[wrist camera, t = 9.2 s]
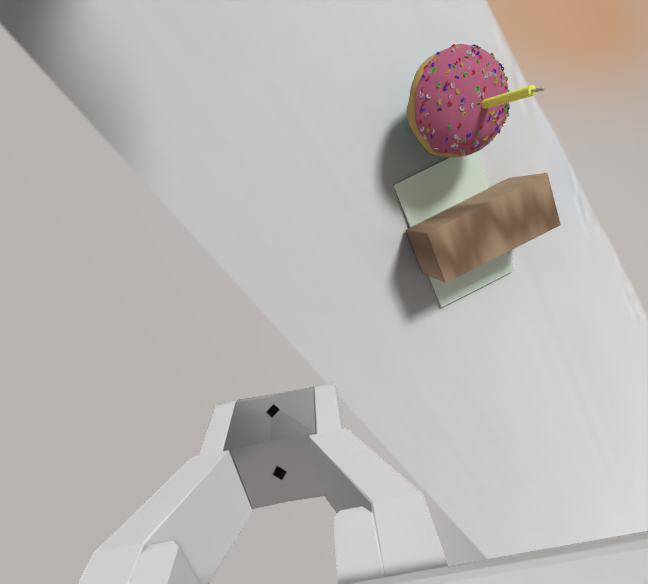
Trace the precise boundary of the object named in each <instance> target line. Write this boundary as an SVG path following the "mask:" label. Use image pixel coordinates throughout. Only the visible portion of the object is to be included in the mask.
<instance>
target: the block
mask: <svg viewBox="0 0 648 584" xmlns="http://www.w3.org/2000/svg"><path fill="white" fill-rule="evenodd" d="M560 225H561V224H560V221H559V217H558V213H557V209H556V205H555V201H554V197H553V193H552V190H551V186H550V182H549V178H548V174H547V173H543V174H536V175H528V176H521V177H513V178H508V179H506V180H504V181H502V182H500V183H498V184H496V185H494V186H492V187H490V188H488V189H486V190H484V191H482V192H480V193H478V194H476V195H474V196H472V197H470V198H468V199H466V200H464V201H462V202H460V203H458V204H456V205H454V206H452V207H450V208H448V209H446V210H444V211H442V212H440V213H438V214H436V215H434V216H432V217H430V218H428V219H426V220H424V221H422V222H420V223H418V224H416V225H414V226H412V227H410V228H408V229H406V233H407V235H408V238H409V240H410V243H411V245H412V248H413V250H414V253H415V256H416V258H417V261H418V263H419V266H420V268H421V271H422V273H423V274H425V275H428V276H430V277H432V278H435V279H437V280H440V281H442V282H444V283H447V282H449V281H451V280H453V279H455V278H457V277H459V276H461V275H463V274H465V273H467V272H469V271H471V270H473V269H475V268H477V267H479V266H481V265H483V264H485V263H487V262H489V261H490V260H492V259H494V258H496V257H498V256H500V255H502V254H504V253H506V252H508V251H510V250H512V249H514V248H516V247H518V246H520V245H522V244H524V243H526V242H528V241H530V240H532V239H534V238H536V237H538V236H540V235H542V234H544V233H546V232H548V231H550V230H552V229H554V228H556V227H558V226H560Z"/></svg>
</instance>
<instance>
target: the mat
mask: <svg viewBox="0 0 648 584" xmlns="http://www.w3.org/2000/svg"><path fill="white" fill-rule="evenodd" d="M394 188H395V190H396V193H397V196H398V198H399V201H400V203H401V206H402V209H403V211H404V214H405V216H406V219H407V221H408V224H409V227H412V226H414V225H416V224H418V223H420V222H422V221H424V220H426V219H428V218H430V217H432V216H434V215H436V214H438V213H440V212H442V211H444V210H446V209H448V208H450V207H452V206H454V205H456V204H458V203H460V202H462V201H464V200H466V199H468V198H470V197H472V196H474V195H476V194H478V193H480V192H482V191H484V190H486V189H488V188H489V187H488V184H487V180H486V177H485V174H484V171H483V167H482V164H481V161H480V158H479V154H478V151H477V152H475V153H473V154H470V155H467V156H463V157H455V158H454V157H449V158H447V159H445V160H443V161H441V162H439V163H437V164H435V165H433V166H431V167H429V168H427V169H425V170H423V171H421V172H419V173H417V174H415V175H413V176H411V177H409V178H407V179H405V180H403V181H401V182H399V183H397V184H395V185H394ZM512 271H514V268H513V264H512V261H511V258H510V255H509V251H508V252H506V253H504V254H502V255H500V256H498V257H496V258H494V259H492V260H490V261H489V262H487V263H485V264H483V265H481V266H479V267H477V268H475V269H473V270H471V271H469V272H467V273H465V274H463V275H461V276H459V277H457V278H455V279H453V280H451V281H449V282H447V283H444V282H442V281H440V280H437V279H435V278H432V277H430V276H429V278H430V281H431V283H432V286H433V289H434V291H435V294H436V296H437V299H438V301H439V304H440V307H444V306H446V305H447V304H449V303H451V302H453V301H455V300H457V299H459V298H461V297H463V296H465V295H467V294H469V293H471V292H473V291H475V290H477V289H479V288H481V287H483V286H485V285H487V284H489V283H491V282H493V281H495V280H497V279H499V278H501V277H502V276H504V275H506V274H508V273H510V272H512Z"/></svg>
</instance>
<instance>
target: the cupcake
mask: <svg viewBox="0 0 648 584" xmlns="http://www.w3.org/2000/svg"><path fill="white" fill-rule="evenodd" d="M492 55H493V53H491V54H489V53H488V52H486V51H485V50H483V49H481V47H478V46H476V45H472V46H471V45H465V44H457V45H455V44H454V45H452V46H451V47H450V48H448V49H445V50H443V51H441V52H437V53H436V54H434V55H433V56H431V57H429V58H428V59H427V60H426V61H425V62H423V64H422V65H421V66H420V68H419V69H418V71H417V72H416V74H415V77H414V80H413V83H412V86H411V90H410V98H409V102H408V106H407V117H408V122H409V125H410V127H411V129H412V131H413V133H414V135H415V136H416V137H417V139H418V140H419V142H420V143H421V144H422V146H423V147H424V148H425V149H426V151H427V152H428V153H430V154H432V155H437V156H442V157H454V158H455V157H463V156H467V155H470V154H473V153H475V152H477V151H479V150H481V149H482V148H483V147H485V146H486V145H487V144H490V143H489V142H490V141H493V138H494V137H495V136H496V135H497V133H500V129H501V128H502V127H503V126H504V125H503V124H504V123H505V122H504V121H506V119H507V117H508V116H509V113H508V112H509V111H508V110H509V108H510V104H509V102H512V101H515V100H519V99H523V98H527V97H530V96H533V95H534V94H535V92H538V91H543V90H545V87H540V88H536V87H535V86H533V85H530V86H527V87H524V88H521V89H517V90H514V91H511V92H508V91H509V90H508V85H507V80H508V78H507V77H505V73H504V72H503V70H504V67H502V64H500V63H499V61H498V60H496V59H495V57H494V55H493V56H492ZM500 65H501V66H500ZM502 68H503V69H502ZM506 78H507V80H506ZM506 115H508V116H506Z"/></svg>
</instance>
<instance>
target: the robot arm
mask: <svg viewBox="0 0 648 584" xmlns="http://www.w3.org/2000/svg"><path fill="white" fill-rule="evenodd" d="M320 496H325V497H326V498H327V500H328V501H329V503H330V504H331V506H332V507H333V509H334V510H335V511H336V512H337V515H336V516H335V518H334V533H335V547H336V562H337V578H338V584H648V531H645V532H639V533H633V534H628V535H622V536H616V537H611V538H605V539H599V540H594V541H588V542H582V543H577V544H571V545H565V546H560V547H554V548H548V549H543V550H537V551H531V552H526V553H520V554H514V555H509V556H503V557H497V558H492V559H486V560H480V561H475V562H469V563H463V564H458V565H452V566H448V564H447V561H446V559H445V556H444V553H443V550H442V547H441V544H440V541H439V538H438V535H437V533H436V530H435V527H434V524H433V521H432V518H431V515H430V512H429V510H428V507H427V504H426V501H425V498H424V495H423V494H422V493H421V492H420V491H419V490H418V489H417V488H416V487H414V486H413V485H412V484H411V483H410V482H409V481H407V480H406V479H405V478H404V477H403V476H402V475H401V474H399V473H398V472H397V471H396V470H395V469H394V468H392V467H391V466H390V465H389V464H388V463H387V462H386V461H384V460H383V459H382V458H381V457H380V456H379V455H377V454H376V453H375V452H374V451H373V450H372V449H370V448H369V447H368V446H367V445H366V444H365V443H364V442H362V441H361V440H360V439H359V438H358V437H357V436H355V435H354V434H353V433H352V432H351V431H350V430H349V429H344V424H343V418H342V414H341V409H340V405H339V399H338V394H337V389H336V385H335V383H334V382H330V383H326V384H321V385H317V386H315V387H310V388H305V389H300V390H294V391H289V392H284V393H279V394H271V395H265V396H259V397H253V398H247V399H241V400H238V401H231V402H224V403H219V404H218V405H216V406H215V408H214V411H213V414H212V417H211V420H210V422H209V425H208V428H207V431H206V434H205V437H204V440H203V443H202V446H201V449H200V451H199V454H198V456H195V457H191V459H190V460H188V461H187V462H186V463H185V464H184V465H183V466H182V467H181V468H180V469H179V470H178V471H177V472H176V473H175V474H174V475H173V476H172V477H171V478H170V479H169V480H168V481H167V482H166V483H165V484H164V485H163V486H162V487H161V488H160V489H159V490H158V491H156V492H155V494H153V495H152V496H151V497H150V498H149V499H148V500H147V502H145V503H144V504H143V505H142V506H141V507H140V508H139V509H138V510H137V511H136V512H135V513H134V514H133V515H132V516H131V517H130V518H129V519H128V520H127V521H126V522H125V523H124V524H123V525H122V526H121V527H120V528H119V529H117V530H116V531H115V532H114V533H113V534H112V535H111V536H110V537H109V538H108V539H107V540H106V541H105V542H104V543H103V544H102V545H101V546H100V547H99V548H98V549H97V550H96V551H95V552H94V553H93V555H92V557H91V559H90V561H89V563H88V565H87V567H86V569H85V571H84V572H83V574H82V576H81V578H80V580H79V582H78V584H209V583H210V581H211V579H212V578H213V576H214V575H215V573H216V571H217V570H218V568H219V566H220V565H221V563H222V561H223V560H224V558H225V556H226V555H227V553H228V551H229V550H230V548H231V546H232V545H233V543H234V542H235V540H236V538H237V536H238V535H239V533H240V532H241V530H242V528H243V527H244V525H245V523H246V522H247V520H248V518H249V517H250V515H251V513H252V509H255V508H259V507H264V506H269V505H273V504H278V503H283V502H288V501H294V500H301V499H307V498H314V497H320Z"/></svg>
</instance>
